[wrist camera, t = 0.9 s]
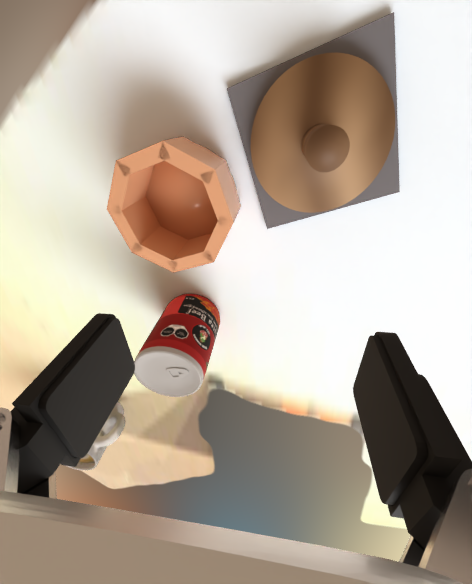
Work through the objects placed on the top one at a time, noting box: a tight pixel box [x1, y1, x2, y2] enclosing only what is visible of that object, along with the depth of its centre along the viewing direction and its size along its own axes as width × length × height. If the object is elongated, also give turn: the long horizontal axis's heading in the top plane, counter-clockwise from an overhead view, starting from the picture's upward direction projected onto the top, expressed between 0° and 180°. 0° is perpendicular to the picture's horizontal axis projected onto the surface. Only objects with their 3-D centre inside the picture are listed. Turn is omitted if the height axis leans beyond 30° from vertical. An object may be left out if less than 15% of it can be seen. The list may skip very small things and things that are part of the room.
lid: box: [251, 52, 395, 213], centre depth 22 cm, size 12×12×6 cm
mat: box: [227, 12, 399, 229], centre depth 24 cm, size 13×13×1 cm
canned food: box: [134, 294, 220, 397], centre depth 34 cm, size 8×8×11 cm
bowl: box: [107, 137, 241, 273], centre depth 27 cm, size 11×11×6 cm
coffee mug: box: [64, 402, 125, 470], centre depth 51 cm, size 13×10×10 cm
